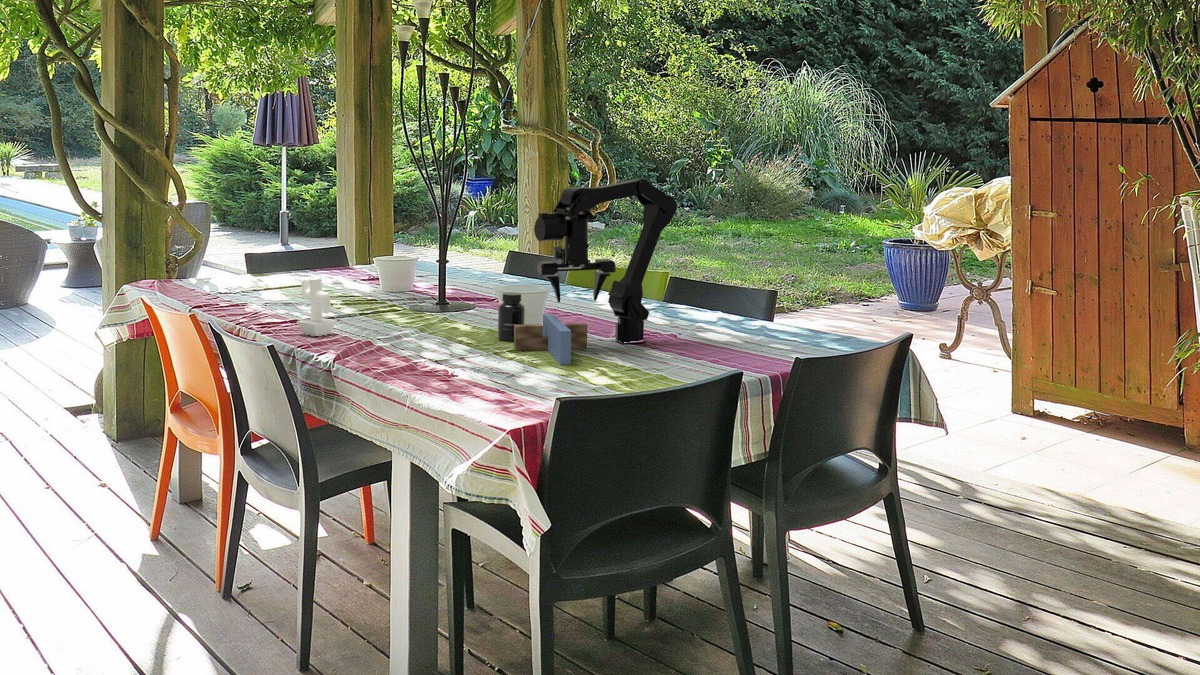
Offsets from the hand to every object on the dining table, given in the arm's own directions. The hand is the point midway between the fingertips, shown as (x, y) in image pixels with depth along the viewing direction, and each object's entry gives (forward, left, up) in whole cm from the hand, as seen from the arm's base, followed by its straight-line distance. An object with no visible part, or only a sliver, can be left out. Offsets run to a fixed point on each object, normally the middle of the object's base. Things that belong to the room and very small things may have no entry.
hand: (576, 301), depth 259 cm
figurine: (+64, -25, -12) cm, 69 cm away
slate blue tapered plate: (+7, +8, -12) cm, 16 cm away
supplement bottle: (+15, -12, -12) cm, 22 cm away
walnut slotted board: (+7, +1, -12) cm, 13 cm away
